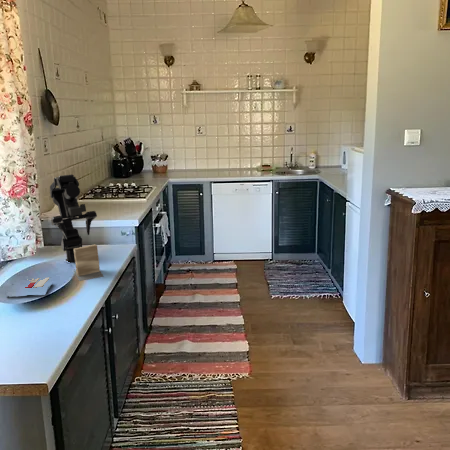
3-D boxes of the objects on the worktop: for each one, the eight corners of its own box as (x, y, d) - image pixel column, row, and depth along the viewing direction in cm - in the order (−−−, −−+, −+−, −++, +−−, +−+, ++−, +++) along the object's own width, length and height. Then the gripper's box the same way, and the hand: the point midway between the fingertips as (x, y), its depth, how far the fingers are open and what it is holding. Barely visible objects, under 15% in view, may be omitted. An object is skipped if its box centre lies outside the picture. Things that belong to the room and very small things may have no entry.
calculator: (15, 279, 195) (51, 275, 195) (17, 289, 196) (53, 285, 197) (4, 289, 184) (42, 285, 185) (6, 299, 186) (44, 295, 186)
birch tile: (76, 274, 206) (73, 248, 203) (98, 269, 211) (95, 244, 208) (78, 276, 204) (75, 249, 201) (100, 271, 209) (97, 245, 206)
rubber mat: (73, 270, 213) (73, 269, 213) (97, 266, 217) (97, 265, 217) (79, 281, 199) (79, 281, 198) (104, 277, 203) (103, 276, 203)
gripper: (51, 201, 196) (58, 238, 195) (95, 195, 205) (103, 230, 204) (48, 207, 206) (55, 241, 205) (90, 201, 215) (97, 234, 213)
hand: (78, 237), depth 206 cm, fingers open, 9 cm apart
